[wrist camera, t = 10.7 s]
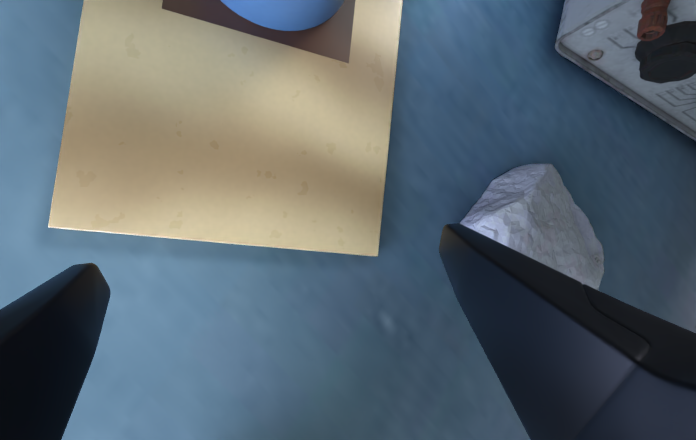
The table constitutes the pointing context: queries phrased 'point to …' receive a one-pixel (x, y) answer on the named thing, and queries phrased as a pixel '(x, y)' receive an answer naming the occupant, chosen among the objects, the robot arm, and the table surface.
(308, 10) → the blue cylinder
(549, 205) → the stone block
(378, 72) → the birch board
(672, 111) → the vintage electronic device
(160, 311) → the table surface
